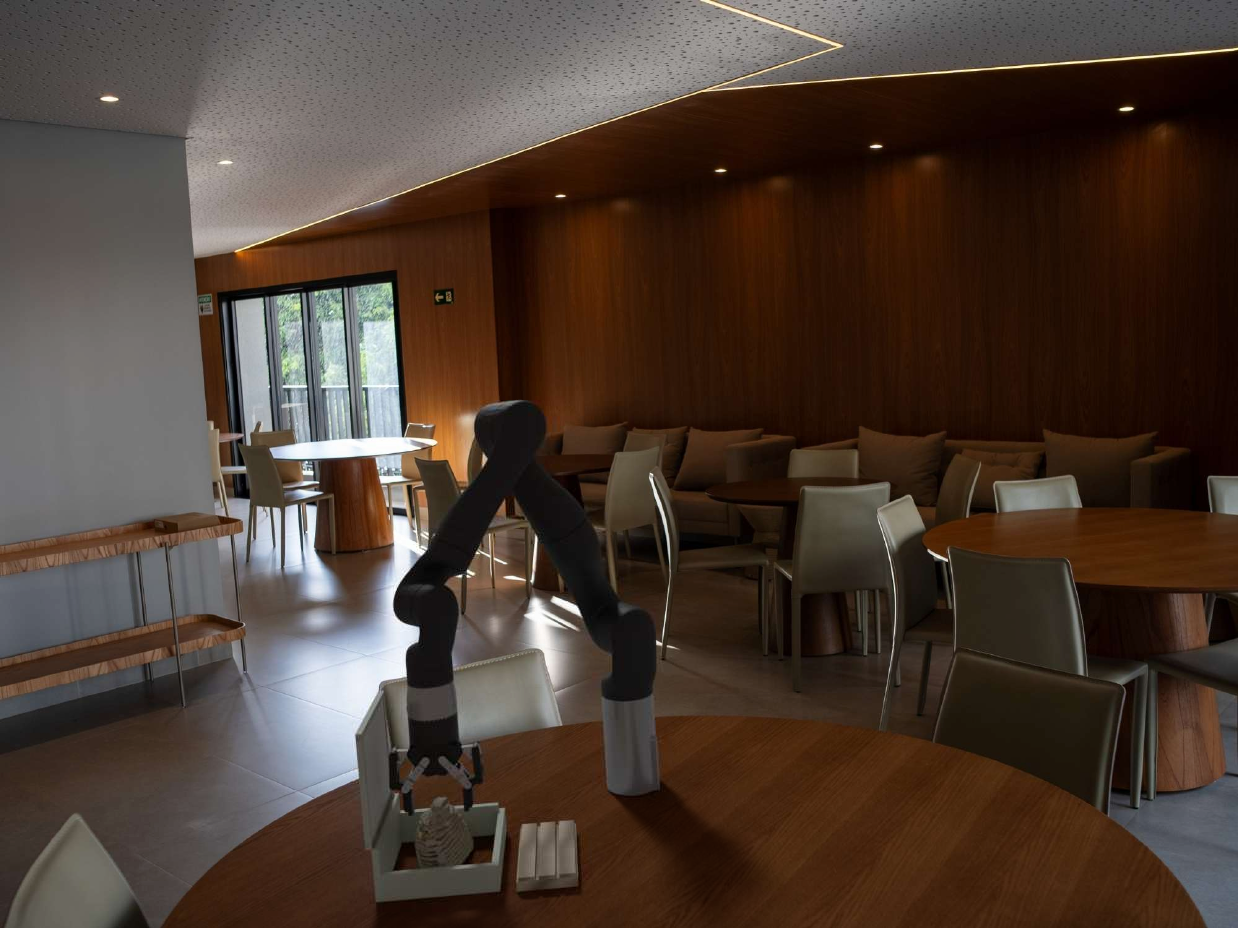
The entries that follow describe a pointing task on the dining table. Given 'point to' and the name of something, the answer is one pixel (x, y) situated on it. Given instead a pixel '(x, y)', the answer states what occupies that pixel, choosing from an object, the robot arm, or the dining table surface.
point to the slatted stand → (547, 856)
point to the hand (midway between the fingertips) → (439, 811)
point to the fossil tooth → (442, 836)
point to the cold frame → (414, 826)
